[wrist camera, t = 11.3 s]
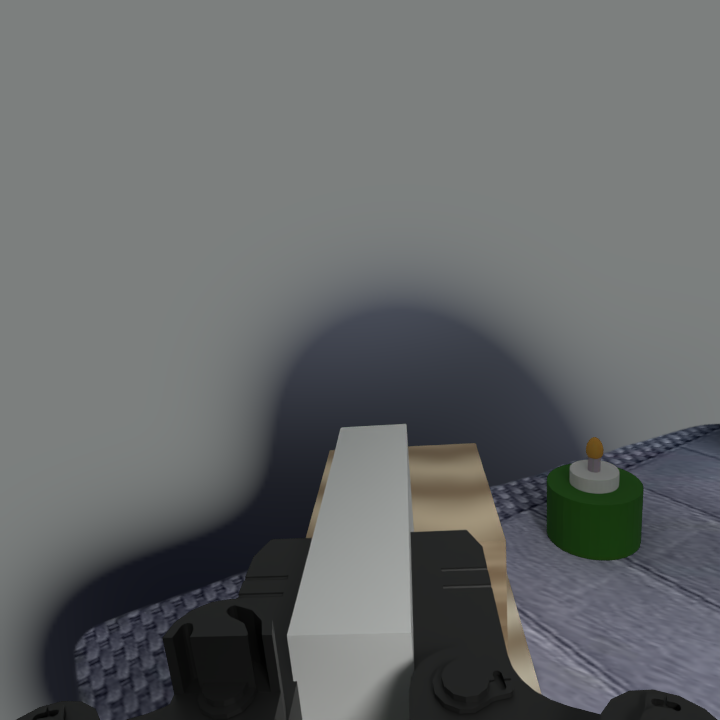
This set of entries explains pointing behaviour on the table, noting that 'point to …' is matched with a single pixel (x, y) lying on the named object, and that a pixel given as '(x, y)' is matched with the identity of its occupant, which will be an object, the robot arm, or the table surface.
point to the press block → (461, 526)
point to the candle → (594, 508)
